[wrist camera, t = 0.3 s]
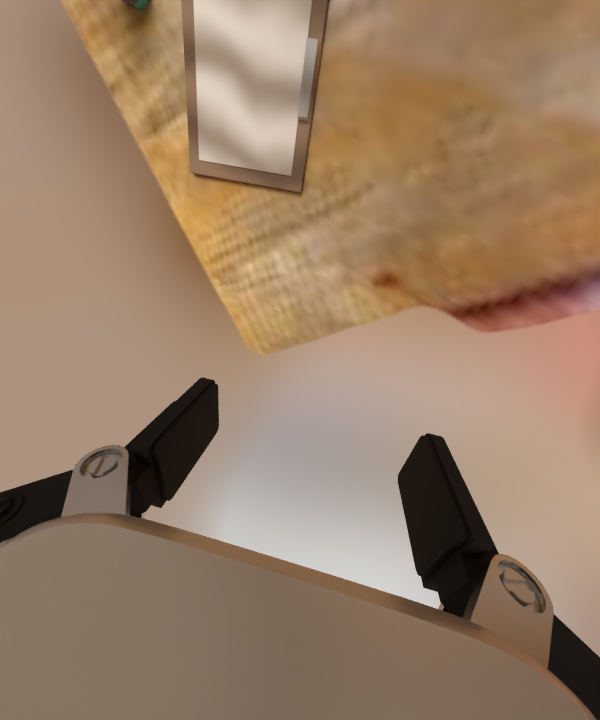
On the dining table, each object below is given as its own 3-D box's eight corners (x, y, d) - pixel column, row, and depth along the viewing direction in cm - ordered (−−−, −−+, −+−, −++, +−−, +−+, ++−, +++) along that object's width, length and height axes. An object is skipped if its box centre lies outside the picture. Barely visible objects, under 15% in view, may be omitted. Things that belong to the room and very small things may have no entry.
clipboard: (183, -70, 24) (170, -94, 22) (336, -56, 22) (335, -81, 21) (194, 173, 33) (186, 170, 32) (301, 193, 32) (299, 190, 30)
